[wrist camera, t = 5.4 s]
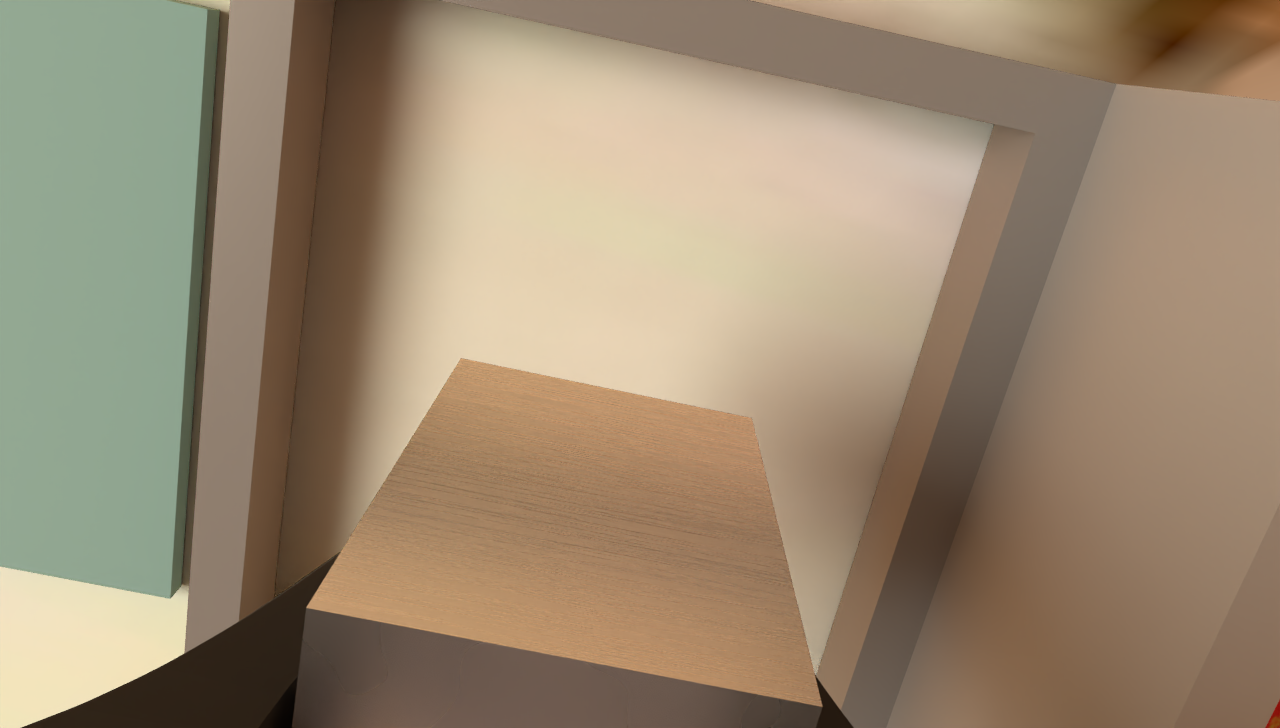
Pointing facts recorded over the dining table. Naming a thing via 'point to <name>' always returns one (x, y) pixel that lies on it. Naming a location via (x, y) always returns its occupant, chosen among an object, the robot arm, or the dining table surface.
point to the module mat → (101, 282)
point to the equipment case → (940, 388)
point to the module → (561, 573)
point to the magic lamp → (1274, 718)
